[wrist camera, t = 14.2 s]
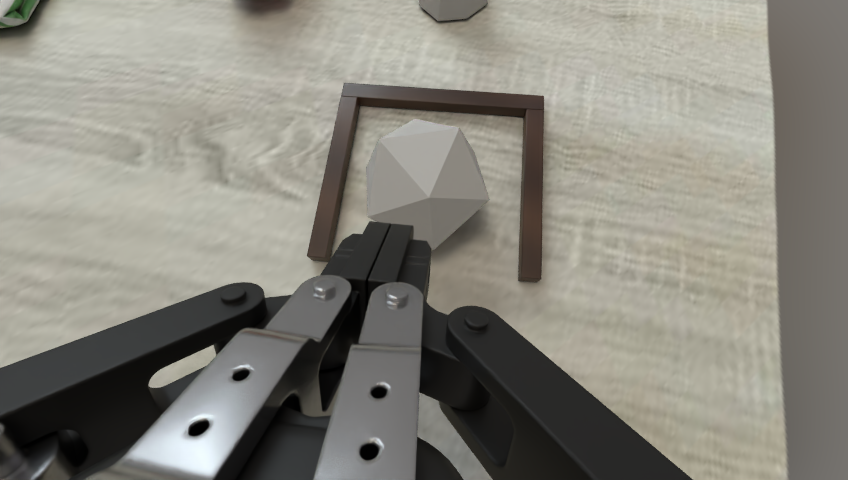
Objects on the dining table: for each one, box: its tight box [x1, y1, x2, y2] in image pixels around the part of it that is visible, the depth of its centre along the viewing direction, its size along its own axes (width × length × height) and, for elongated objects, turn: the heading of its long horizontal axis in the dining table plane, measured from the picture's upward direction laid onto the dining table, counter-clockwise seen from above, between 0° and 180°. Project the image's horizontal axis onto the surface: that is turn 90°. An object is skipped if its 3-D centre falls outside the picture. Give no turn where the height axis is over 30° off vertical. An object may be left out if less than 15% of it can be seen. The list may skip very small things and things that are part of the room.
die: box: [366, 119, 490, 250], centre depth 27 cm, size 8×9×10 cm
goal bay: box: [307, 83, 544, 282], centre depth 31 cm, size 16×18×1 cm
